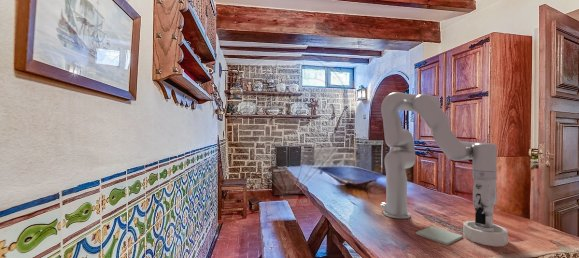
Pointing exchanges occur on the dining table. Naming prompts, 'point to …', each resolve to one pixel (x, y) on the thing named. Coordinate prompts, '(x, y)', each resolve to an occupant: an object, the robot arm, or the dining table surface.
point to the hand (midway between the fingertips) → (483, 221)
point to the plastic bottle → (487, 219)
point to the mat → (439, 235)
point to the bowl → (485, 235)
